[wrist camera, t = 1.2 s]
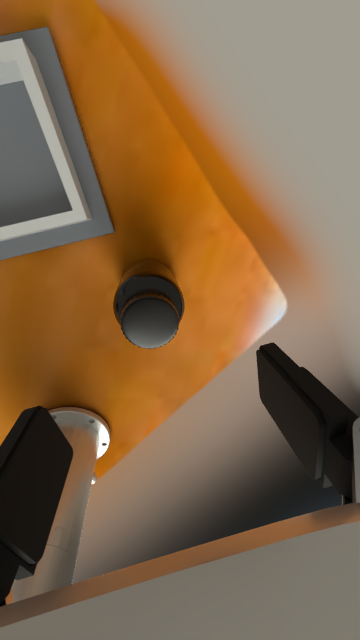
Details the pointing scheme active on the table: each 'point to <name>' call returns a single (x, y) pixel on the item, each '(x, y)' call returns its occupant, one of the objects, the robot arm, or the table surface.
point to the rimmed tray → (43, 153)
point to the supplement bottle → (148, 304)
